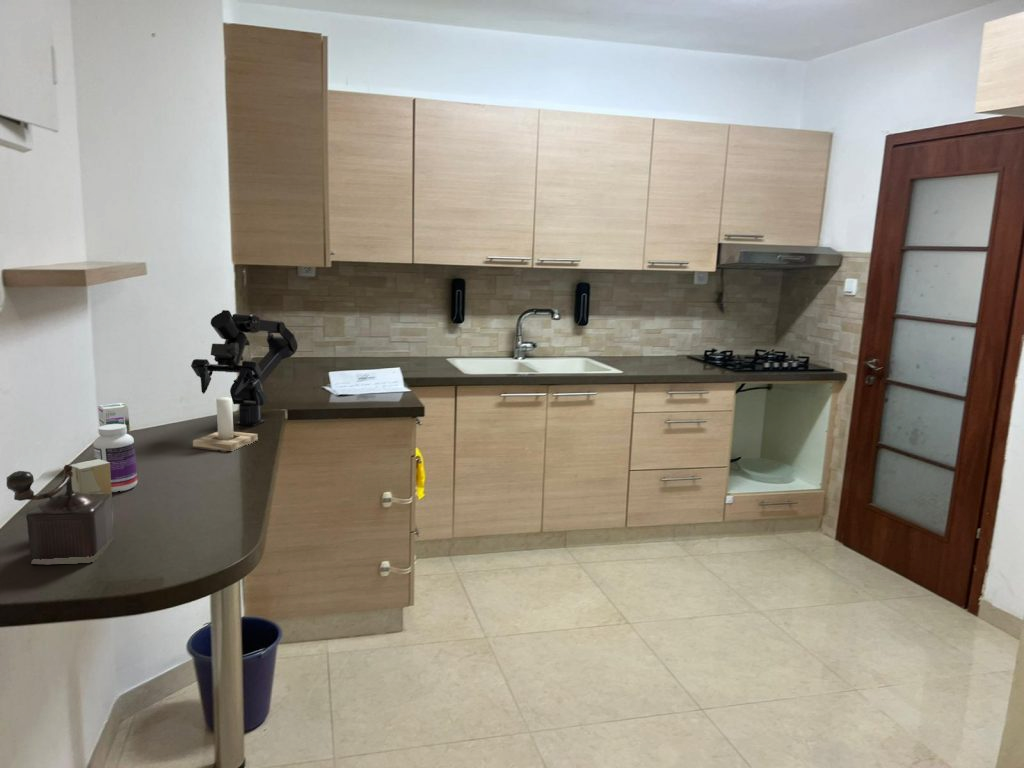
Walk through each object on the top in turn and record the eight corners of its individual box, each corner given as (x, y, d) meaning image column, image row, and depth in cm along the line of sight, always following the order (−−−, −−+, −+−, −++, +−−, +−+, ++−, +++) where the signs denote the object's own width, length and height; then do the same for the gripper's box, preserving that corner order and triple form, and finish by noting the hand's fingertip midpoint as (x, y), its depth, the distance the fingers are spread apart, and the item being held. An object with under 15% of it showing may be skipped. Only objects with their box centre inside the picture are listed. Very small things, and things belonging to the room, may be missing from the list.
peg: (220, 440, 202) (218, 397, 199) (235, 440, 202) (233, 397, 200) (216, 444, 198) (214, 400, 196) (231, 444, 199) (229, 400, 196)
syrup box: (107, 465, 179) (103, 408, 177) (102, 459, 184) (97, 404, 181) (132, 461, 183) (128, 405, 180) (126, 455, 187) (122, 401, 185)
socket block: (221, 437, 207) (220, 430, 207) (257, 440, 205) (257, 434, 204) (193, 447, 196) (192, 440, 196) (231, 452, 193) (231, 444, 193)
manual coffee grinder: (52, 542, 133) (42, 449, 130) (116, 539, 135) (108, 447, 132) (10, 580, 118) (-2, 475, 115) (83, 576, 120) (73, 474, 117)
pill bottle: (144, 482, 167) (140, 422, 164) (125, 494, 159) (120, 431, 156) (110, 481, 167) (105, 421, 165) (89, 493, 159) (84, 430, 157)
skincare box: (82, 529, 140) (77, 469, 137) (70, 524, 142) (65, 465, 140) (115, 519, 145) (110, 461, 143) (103, 514, 147) (98, 457, 145)
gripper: (191, 331, 205) (175, 376, 197) (256, 333, 205) (242, 378, 196) (205, 354, 215) (190, 398, 206) (267, 356, 214) (254, 400, 205)
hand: (218, 393), depth 203 cm, fingers open, 9 cm apart
